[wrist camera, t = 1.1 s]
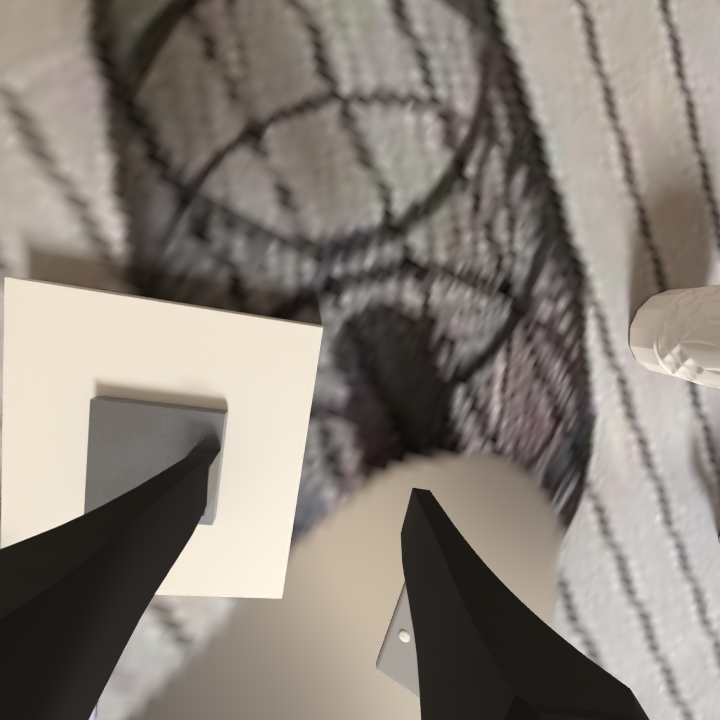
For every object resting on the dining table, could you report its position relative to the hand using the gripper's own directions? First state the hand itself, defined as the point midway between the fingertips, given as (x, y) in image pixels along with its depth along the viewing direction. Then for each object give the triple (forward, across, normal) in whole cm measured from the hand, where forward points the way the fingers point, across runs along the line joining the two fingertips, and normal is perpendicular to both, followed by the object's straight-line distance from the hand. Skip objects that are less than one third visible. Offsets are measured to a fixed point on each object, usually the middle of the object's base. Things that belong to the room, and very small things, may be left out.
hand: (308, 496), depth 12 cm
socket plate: (+11, +10, +7) cm, 17 cm away
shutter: (+9, +10, +6) cm, 15 cm away
